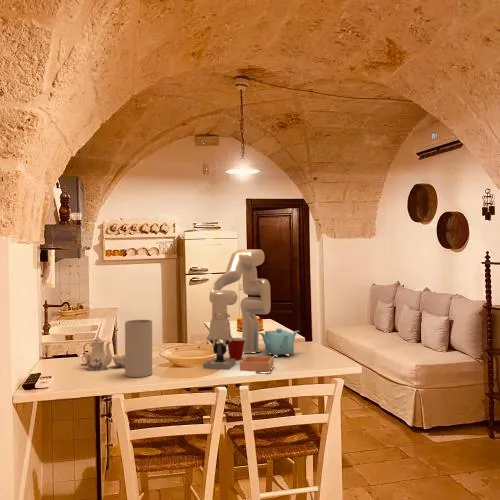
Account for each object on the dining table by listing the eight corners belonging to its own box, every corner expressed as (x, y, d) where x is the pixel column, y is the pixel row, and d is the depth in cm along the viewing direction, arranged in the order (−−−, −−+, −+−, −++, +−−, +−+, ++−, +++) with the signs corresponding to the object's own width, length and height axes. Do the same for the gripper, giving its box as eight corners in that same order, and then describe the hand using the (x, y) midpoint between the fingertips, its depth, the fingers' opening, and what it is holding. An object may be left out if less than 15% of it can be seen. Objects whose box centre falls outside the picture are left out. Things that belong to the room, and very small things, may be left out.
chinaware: (134, 368, 248) (136, 335, 250) (117, 372, 232) (119, 337, 234) (86, 365, 255) (88, 333, 257) (66, 369, 239) (69, 335, 241)
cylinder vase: (135, 370, 236) (135, 319, 236) (157, 372, 232) (157, 320, 232) (119, 376, 225) (119, 322, 225) (142, 379, 220) (142, 323, 220)
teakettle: (271, 350, 284) (271, 325, 284) (301, 353, 276) (300, 327, 276) (257, 356, 267) (256, 330, 268) (288, 359, 259) (288, 332, 259)
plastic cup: (249, 359, 260) (249, 337, 260) (240, 363, 250) (240, 340, 251) (231, 357, 265) (231, 335, 265) (222, 361, 255) (222, 338, 255)
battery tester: (210, 364, 248) (210, 356, 249) (235, 365, 246) (235, 357, 246) (203, 370, 236) (203, 361, 236) (229, 371, 233) (229, 362, 233)
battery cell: (217, 358, 243) (217, 341, 243) (224, 359, 243) (224, 341, 243) (215, 360, 240) (215, 343, 240) (222, 360, 239) (222, 343, 239)
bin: (246, 365, 245) (246, 355, 245) (273, 367, 242) (273, 357, 242) (240, 372, 232) (240, 361, 232) (269, 373, 229) (268, 363, 229)
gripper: (237, 315, 243) (237, 352, 243) (205, 315, 247) (206, 351, 247) (234, 318, 236) (234, 355, 236) (201, 317, 239) (201, 354, 239)
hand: (219, 353), depth 241 cm, fingers closed on battery cell, 3 cm apart
